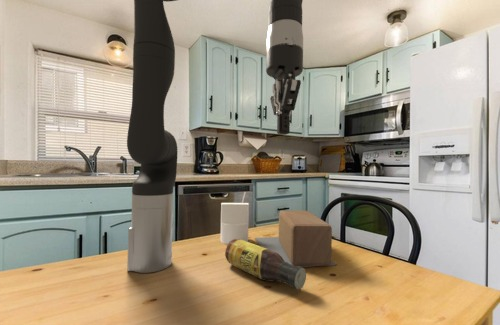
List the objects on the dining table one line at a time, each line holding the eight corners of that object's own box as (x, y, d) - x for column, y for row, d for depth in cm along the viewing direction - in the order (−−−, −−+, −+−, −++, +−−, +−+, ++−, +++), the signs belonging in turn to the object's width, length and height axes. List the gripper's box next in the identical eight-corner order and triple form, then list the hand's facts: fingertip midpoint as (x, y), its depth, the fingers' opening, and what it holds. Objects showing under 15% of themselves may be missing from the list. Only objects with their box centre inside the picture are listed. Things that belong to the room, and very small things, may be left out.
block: (333, 225, 59) (309, 210, 79) (292, 225, 58) (278, 209, 78) (332, 266, 59) (308, 241, 79) (291, 267, 58) (278, 241, 78)
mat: (274, 268, 58) (274, 267, 58) (254, 238, 81) (254, 237, 81) (336, 265, 61) (336, 263, 61) (300, 237, 84) (300, 236, 84)
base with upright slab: (247, 236, 84) (248, 201, 84) (248, 245, 75) (249, 206, 75) (221, 236, 83) (222, 201, 84) (219, 245, 74) (220, 205, 75)
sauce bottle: (222, 242, 58) (289, 266, 44) (241, 234, 63) (308, 253, 48) (224, 269, 59) (292, 301, 44) (243, 259, 63) (310, 285, 49)
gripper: (259, 62, 56) (258, 137, 56) (276, 31, 43) (274, 128, 43) (290, 65, 58) (289, 138, 57) (315, 36, 45) (314, 130, 44)
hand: (283, 134), depth 50 cm, fingers closed
